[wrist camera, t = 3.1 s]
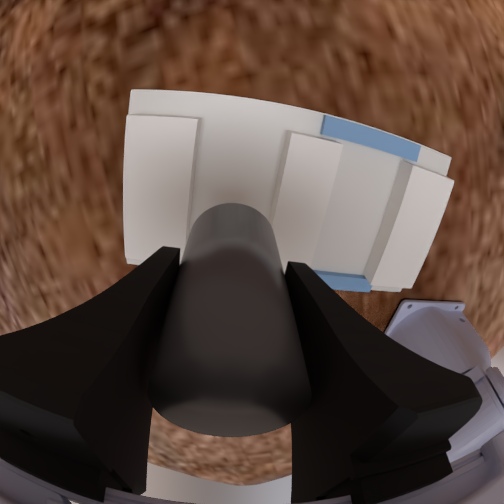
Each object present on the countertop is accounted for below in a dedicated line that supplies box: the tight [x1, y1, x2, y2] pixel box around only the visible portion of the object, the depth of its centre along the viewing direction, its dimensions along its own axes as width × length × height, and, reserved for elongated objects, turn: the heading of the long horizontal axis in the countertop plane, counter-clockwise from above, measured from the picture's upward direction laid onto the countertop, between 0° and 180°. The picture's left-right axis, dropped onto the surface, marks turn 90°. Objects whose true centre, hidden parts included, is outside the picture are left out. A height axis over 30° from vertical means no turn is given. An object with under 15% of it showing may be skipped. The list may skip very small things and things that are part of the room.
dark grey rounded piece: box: [147, 203, 312, 437], centre depth 11 cm, size 4×10×8 cm, turn 170°
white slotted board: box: [123, 90, 454, 292], centre depth 18 cm, size 22×12×2 cm, turn 81°
